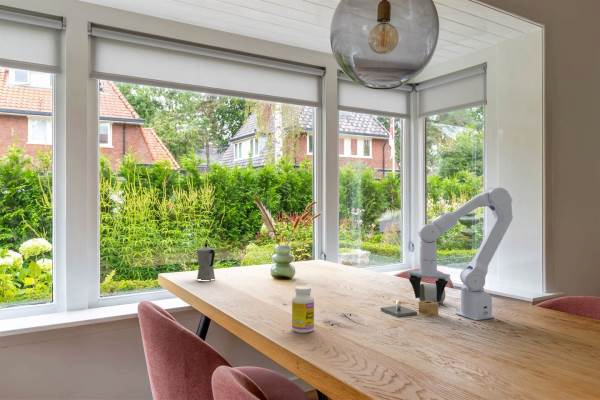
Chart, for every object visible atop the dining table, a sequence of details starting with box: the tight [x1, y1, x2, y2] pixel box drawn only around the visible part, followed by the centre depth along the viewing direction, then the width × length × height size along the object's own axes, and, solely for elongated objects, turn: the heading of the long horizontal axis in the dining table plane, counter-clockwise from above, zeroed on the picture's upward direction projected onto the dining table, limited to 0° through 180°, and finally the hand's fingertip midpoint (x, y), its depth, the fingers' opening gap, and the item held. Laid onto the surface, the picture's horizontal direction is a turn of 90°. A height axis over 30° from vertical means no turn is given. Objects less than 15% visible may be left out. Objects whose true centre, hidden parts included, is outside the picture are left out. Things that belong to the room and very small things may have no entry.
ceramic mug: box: [418, 282, 446, 305], centre depth 171 cm, size 11×8×8 cm
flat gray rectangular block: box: [380, 300, 418, 318], centre depth 156 cm, size 10×8×4 cm
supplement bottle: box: [291, 285, 315, 334], centre depth 135 cm, size 7×7×13 cm
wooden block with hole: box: [418, 300, 439, 317], centre depth 154 cm, size 5×5×4 cm
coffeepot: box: [196, 243, 216, 280], centre depth 219 cm, size 15×9×18 cm, turn 37°
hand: (428, 299), depth 154 cm, fingers open, 7 cm apart
